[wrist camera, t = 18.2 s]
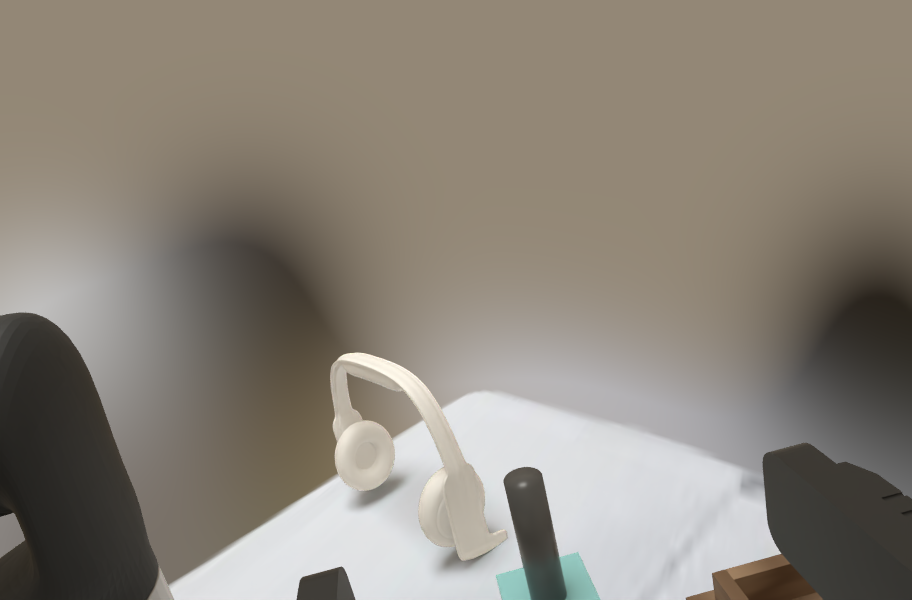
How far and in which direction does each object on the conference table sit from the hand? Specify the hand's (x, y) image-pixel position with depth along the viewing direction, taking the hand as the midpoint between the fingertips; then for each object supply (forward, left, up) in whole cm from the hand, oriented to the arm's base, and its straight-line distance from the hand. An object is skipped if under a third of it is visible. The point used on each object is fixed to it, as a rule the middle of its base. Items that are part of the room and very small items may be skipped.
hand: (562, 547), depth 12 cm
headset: (-43, +12, -30) cm, 54 cm away
